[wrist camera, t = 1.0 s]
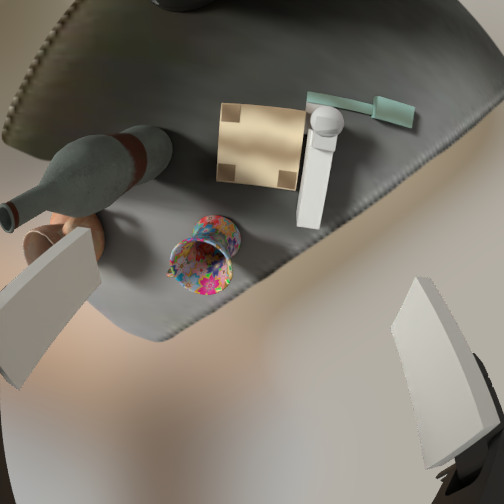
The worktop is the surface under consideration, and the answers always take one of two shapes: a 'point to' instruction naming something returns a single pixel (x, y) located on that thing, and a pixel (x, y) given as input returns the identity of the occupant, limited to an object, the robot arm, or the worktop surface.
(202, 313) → the worktop surface
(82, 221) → the ceramic jug
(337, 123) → the hinged leg
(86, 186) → the bottle
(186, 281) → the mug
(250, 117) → the stool seat
